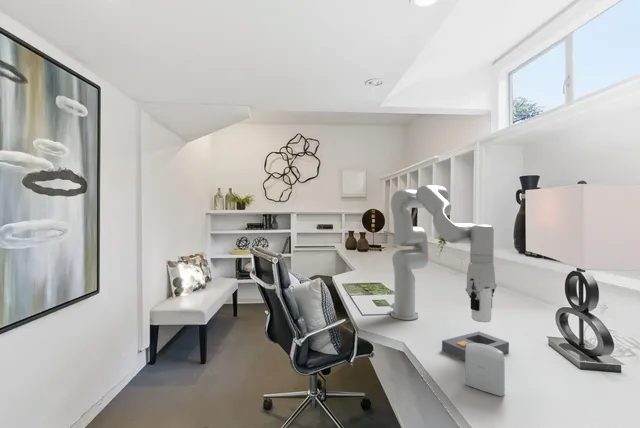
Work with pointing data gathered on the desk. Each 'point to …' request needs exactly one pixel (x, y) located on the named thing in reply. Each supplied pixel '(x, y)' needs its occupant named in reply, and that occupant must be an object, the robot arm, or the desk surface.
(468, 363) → the photo printer
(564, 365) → the desk surface
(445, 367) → the desk surface
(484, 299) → the can
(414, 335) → the desk surface
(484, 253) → the robot arm
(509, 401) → the desk surface
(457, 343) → the grey socket block
